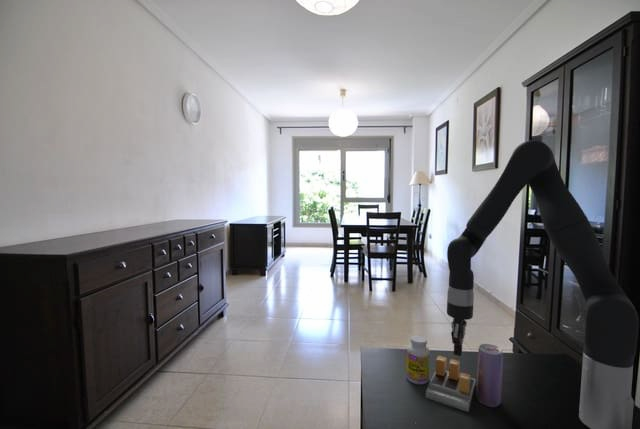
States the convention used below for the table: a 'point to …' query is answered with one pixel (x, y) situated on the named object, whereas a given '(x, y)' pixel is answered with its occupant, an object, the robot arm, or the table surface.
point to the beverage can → (489, 375)
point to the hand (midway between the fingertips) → (457, 354)
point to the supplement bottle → (418, 360)
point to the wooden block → (441, 365)
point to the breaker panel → (449, 391)
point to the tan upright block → (464, 383)
